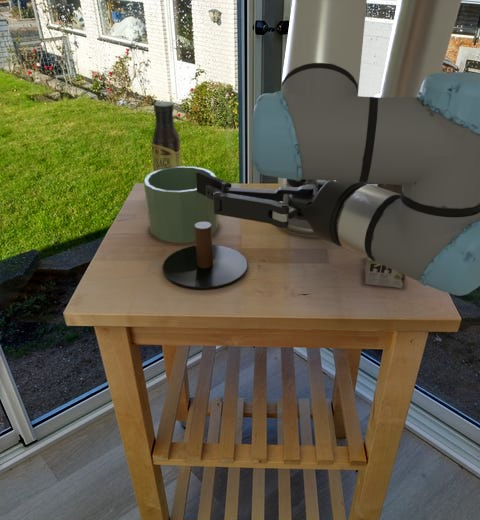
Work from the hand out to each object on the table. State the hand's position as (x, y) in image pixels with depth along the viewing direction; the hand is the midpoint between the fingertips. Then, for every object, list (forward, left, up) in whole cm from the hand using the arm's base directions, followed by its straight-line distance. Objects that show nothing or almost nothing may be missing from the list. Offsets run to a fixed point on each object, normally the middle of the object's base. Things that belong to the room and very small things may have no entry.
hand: (237, 171), depth 70 cm
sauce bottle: (+21, -40, -20) cm, 49 cm away
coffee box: (-24, -8, -20) cm, 33 cm away
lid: (+7, -6, -19) cm, 21 cm away
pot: (+14, -22, -20) cm, 33 cm away
